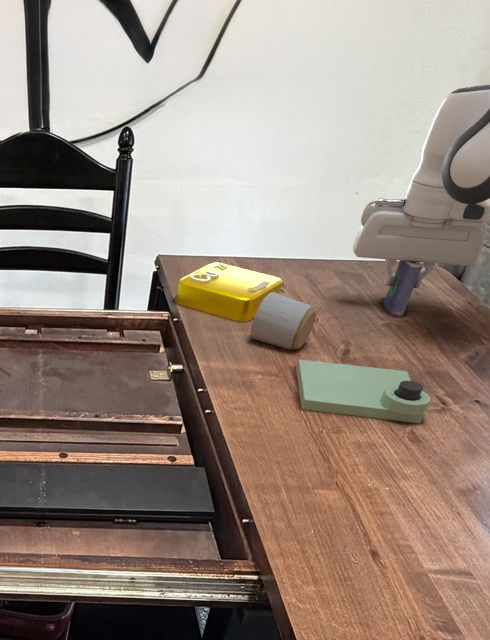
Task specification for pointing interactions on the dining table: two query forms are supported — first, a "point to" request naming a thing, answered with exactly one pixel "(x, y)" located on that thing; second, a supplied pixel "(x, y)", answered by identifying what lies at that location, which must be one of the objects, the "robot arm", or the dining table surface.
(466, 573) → the dining table surface
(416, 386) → the button
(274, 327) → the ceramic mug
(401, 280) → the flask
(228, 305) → the element tile
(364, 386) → the green base with knob
